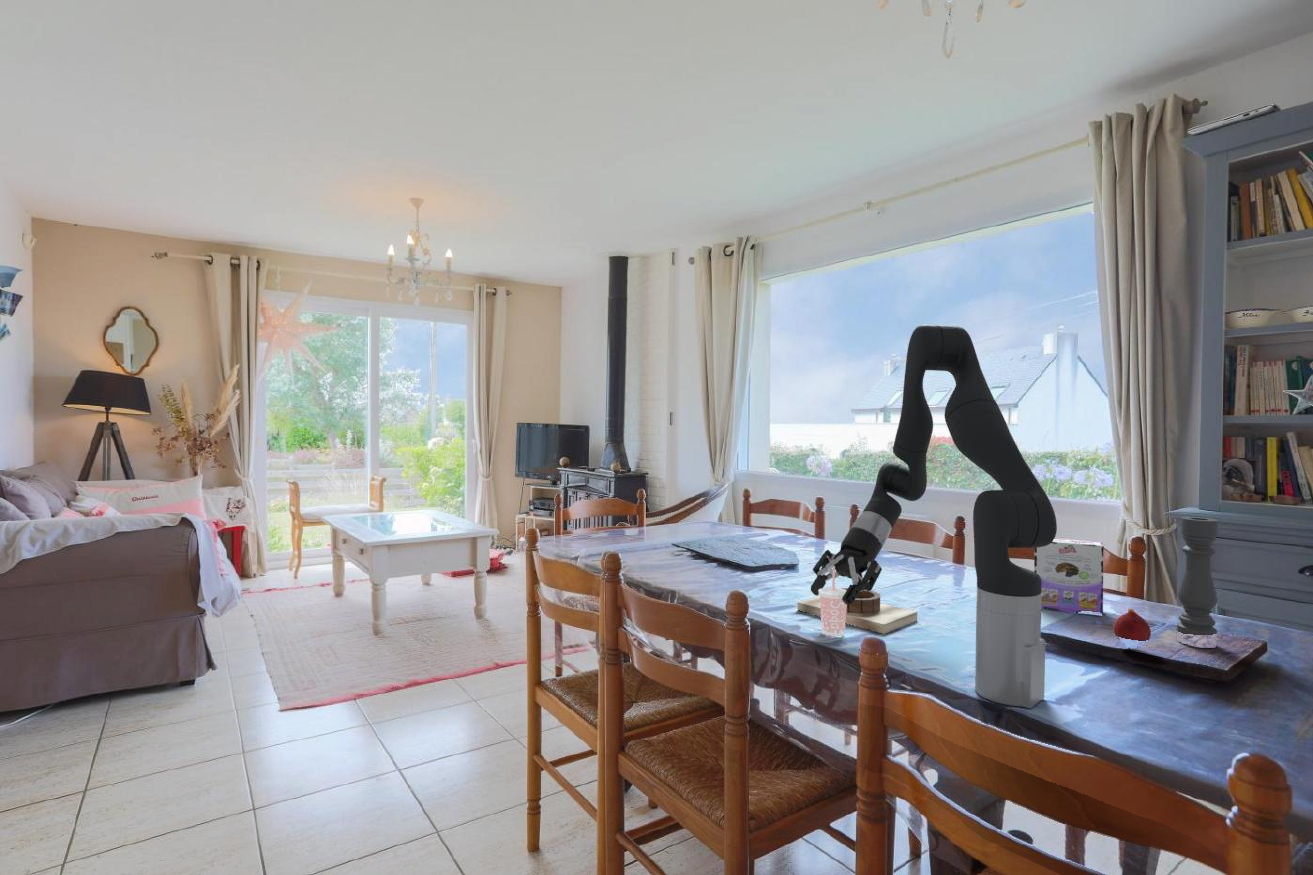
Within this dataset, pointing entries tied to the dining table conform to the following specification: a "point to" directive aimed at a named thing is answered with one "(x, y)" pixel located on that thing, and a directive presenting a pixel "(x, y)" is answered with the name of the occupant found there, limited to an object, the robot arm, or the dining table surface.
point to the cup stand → (867, 612)
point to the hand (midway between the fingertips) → (829, 597)
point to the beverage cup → (832, 609)
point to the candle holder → (1198, 576)
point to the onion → (1132, 627)
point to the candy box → (1070, 575)
